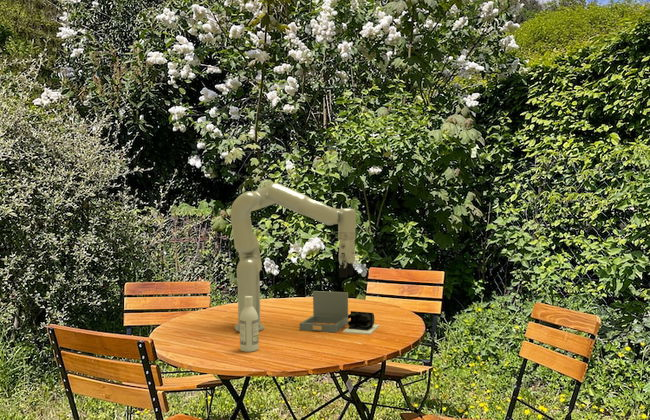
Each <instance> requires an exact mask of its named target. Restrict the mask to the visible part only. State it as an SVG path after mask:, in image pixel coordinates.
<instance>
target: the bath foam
mask: <svg viewBox="0 0 650 420" xmlns="http://www.w3.org/2000/svg"><path fill="white" fill-rule="evenodd" d="M252 305H253V297H252V296H245V307H244V308H243V310H242V312H241V314H240V332H239V349H240V351H242V352H244V353H247V352H248V353H249V352H250V353H253V352H256V351H258V350H259V348H260V347H259V346H260V344H259V342H260V341H259V332H260V331H258V314H257V312H256V310H255V309H254V307H253V306H252Z"/></svg>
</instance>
